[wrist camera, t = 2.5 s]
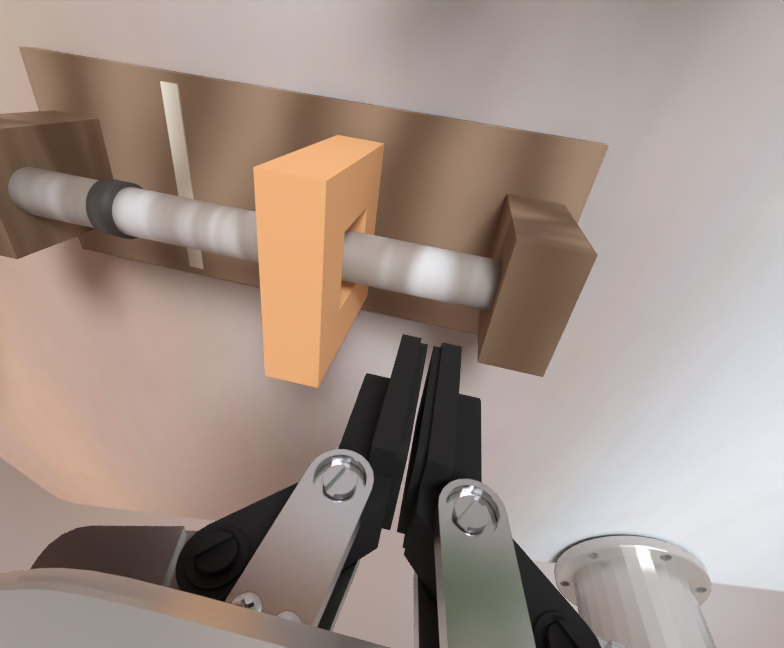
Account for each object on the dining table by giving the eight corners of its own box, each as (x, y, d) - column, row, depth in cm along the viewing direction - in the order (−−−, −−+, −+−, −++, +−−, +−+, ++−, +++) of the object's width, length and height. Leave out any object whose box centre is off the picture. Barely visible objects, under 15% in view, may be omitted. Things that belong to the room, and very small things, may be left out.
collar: (384, 143, 20) (326, 181, 13) (367, 295, 25) (318, 388, 18) (337, 134, 20) (252, 166, 13) (329, 287, 25) (265, 375, 18)
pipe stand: (604, 143, 20) (666, 176, 13) (527, 338, 26) (542, 427, 20) (32, 47, 23) (-156, 34, 16) (91, 244, 29) (-25, 293, 22)
